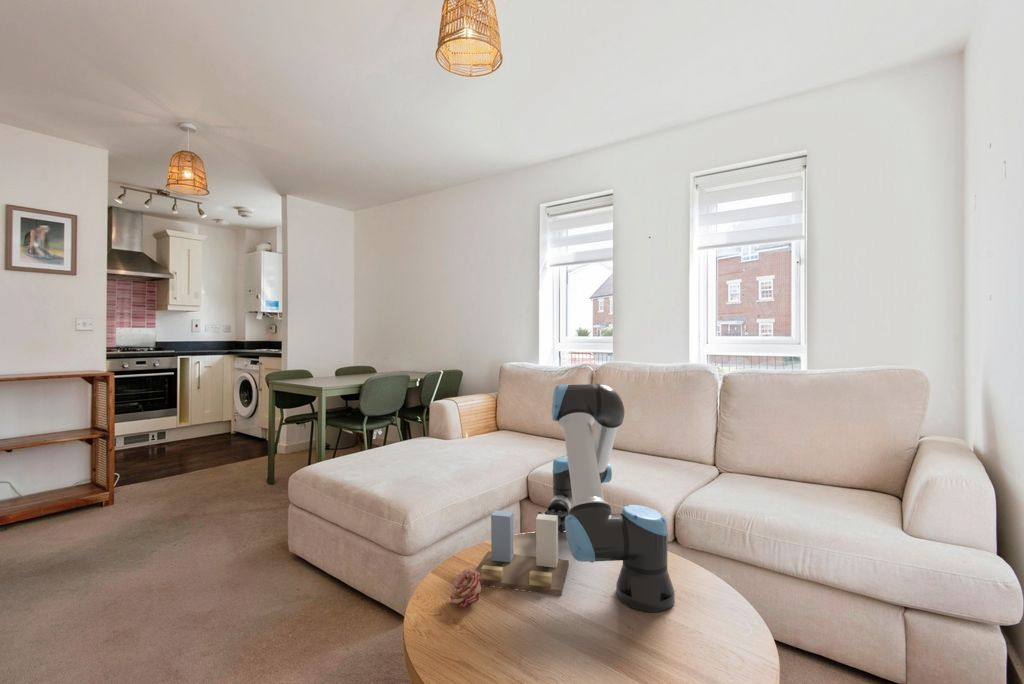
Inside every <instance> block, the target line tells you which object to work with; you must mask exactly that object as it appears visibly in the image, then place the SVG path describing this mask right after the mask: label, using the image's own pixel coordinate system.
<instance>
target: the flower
mask: <svg viewBox="0 0 1024 684" xmlns="http://www.w3.org/2000/svg"><path fill="white" fill-rule="evenodd" d="M477 571H478V570H477ZM477 571H476V570H473V569H469V568H465V570H463V571H462V573H460V574H459V575H457V577H456V578H455V579H453V581H452V583H451V588H452V590H451V594H450V595H449V598H450V602H451V603H452V604H459V603H460V604H459V605H458V607H459V608H460V607H461V608H463V607H465V606H467V605H469V603H470V602H472V601H474V600H476V601H478V600H479V599H480V594H481V591H482V589H483V586H482V584H481V582H480V578H481V577H480V576H481V575H480V573H479V572H477ZM482 581H483V579H482ZM463 601H464V602H463ZM461 602H462V603H461Z"/></svg>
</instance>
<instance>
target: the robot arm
mask: <svg viewBox="0 0 1024 684" xmlns="http://www.w3.org/2000/svg"><path fill="white" fill-rule="evenodd" d="M552 395H553V396H552V405H551V420H552V421H555V422H557V425H558V428H559V429H561V430H562V431H563V435H564V441H565V450H566V456H567V457H563V456H562V457H561V456H560V457H556V458H554V460H553V463H552V499H551V501H550V503H549V505H548V508H547V510H546V511H545V512H541V511H539V512H537V515H538V514H545V515H557V516H558V532H560V533H561V534H562V533H564V532H565V537H566V541H567V545H568V546H567V547H568V548H569V551H570V553H571V555H572V558H574V560H576V562H585V563H592V564H593V563H596V562H597V563H598V562H612V561H613V562H615V561H617V562H619V561H622V565H621V569H620V572H619V574H618V578H617V580H616V583H615V584H616V585H615V587H616V589H615V592H616V593H615V594H616V596H617V598H618V599H619V600H620V602H621V603H623V604H625V605H626V606H627V607H629V608H632V609H634V610H637V611H640V610H641V611H642V612H645V611H646V612H647V613H659V612H665V611H667V610H669V609H670V608H672V607H673V605H675V600H676V599H675V598H676V597H675V588H674V586H673V582H672V579H671V576H670V574H669V570H668V536H669V532H668V523H667V519H666V517H665V516H664V514H663V513H661V512H660V511H659V510H656V509H653V508H651V507H648V506H644V505H639V504H627V505H624V506H623V507H622V509H621V513H612V511H613V510H612V507H611V504H610V503H608V502H607V501H605V498H604V497H605V496H604V492H603V489H602V484H604V483H610V482H611V481H612V477H613V476H612V475H613V471H612V466H611V464H610V463H609V462H610V459H611V455H612V451H613V447H614V444H615V441H616V440H615V439H616V438H617V437H616V436H617V432H618V429H619V427H620V426H621V425H622V424H623V422H624V418H625V406H624V403H623V400H622V398H621V396H620V395H619V394H618V393H617V392H616V391H615V390H614V389H613V388H612V387H610V386H608V385H606V384H602V383H590V384H588V383H587V384H583V383H582V384H569V383H567V384H558V385H556V386H555V388H554V389H553V394H552ZM594 424H595V426H594V431H592V426H593V425H594ZM641 611H640V612H641ZM646 612H645V613H646Z"/></svg>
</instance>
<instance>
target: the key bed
mask: <svg viewBox="0 0 1024 684" xmlns="http://www.w3.org/2000/svg"><path fill="white" fill-rule="evenodd" d="M569 566H570V560H569V559H560V558H558V564H557V567H556V568H554V567H545V566H537V565H536V555H534V556H533V555H526V554H525V555H524V554H517V553H514V557H513V559H512V561H511V563H510V562H501V561H493V560H492V556H491V550H490V551H487V552H486V554H485V555H484V557H483V558H482V560H481V561H480V564H478V566H477V567H476V569H475V571H477V570H478V571H477V572H479V573H480V575H481V576H480V577H481V578H480V582H481V584H482V585H485V586H484V587H490V586H495V587H494V588H497V587H502V588H501V589H505V588H510V589H509V590H513V589H518V590H517V591H521V590H525V591H524V592H528V591H531V593H536V592H537V593H538V594H546V595H554V596H562V594H563V591H564V587H565V582H566V577H567V574H568V571H569ZM482 579H483V581H482Z"/></svg>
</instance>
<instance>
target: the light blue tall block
mask: <svg viewBox="0 0 1024 684" xmlns="http://www.w3.org/2000/svg"><path fill="white" fill-rule="evenodd" d="M490 523H491V524H490V528H491V529H490V534H491V535H490V536H491V537H490V539H491V540H490V541H491V544H490V545H491V547H490V548H491V550H490V552H491V556H492V560H493V561H501V562H510V563H511V561H512V559H513V557H514V554H515V552H514V551H515V550H514V547H515V545H514V512H513V511H508V510H496V509H494V510H493V511H492V513H491V515H490Z"/></svg>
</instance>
